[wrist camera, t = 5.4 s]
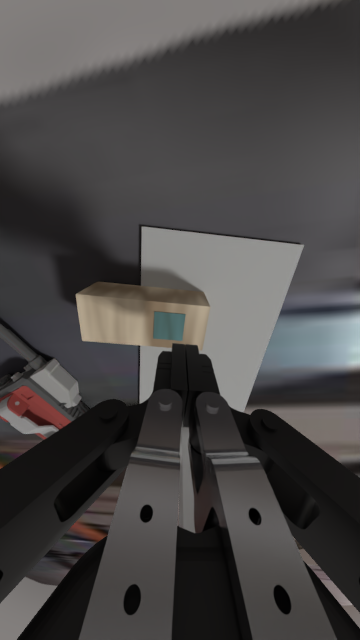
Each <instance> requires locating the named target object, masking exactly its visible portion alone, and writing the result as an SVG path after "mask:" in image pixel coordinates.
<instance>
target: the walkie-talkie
mask: <svg viewBox="0 0 360 640" xmlns="http://www.w3.org/2000/svg"><path fill="white" fill-rule="evenodd" d="M0 337H1V338H2V339H3V340H4V341H5V342H6V343H7V344H9V345H10V346H11V347H12V348H13V349H14V350H16V351H17V352H18V353H19V354H20V355H21V356H22V357H24V358H25V359H26V360H27V361H28V365H26V366H25V367H24V369H25V370H26V371H25V372H23V373H19V372H17V373H16V374H14V375H13V377H12V376H11V375H10V374H7V375H5V376H4V377H2V378H1V379H0V418H1V419H3V420H4V421H6V422H10V423H11V424H10V425H11V426H13V427H14V428H16V429H17V430H19V431H20V432H22V433H23V434H31V433H35V434H36V435H38V436H39V437H40V438H42V439H43V440H45V439H46V438H48V437H49V436H51V435H52V434H54V433H55V432H57V431H58V430H60V429H61V428H63V427H64V426H66V425H67V424H69V423H70V422H72V421H73V420H75V419H76V418H78V417H79V416H81V415H82V414H84V413H85V412H87V411H88V410H90V409H89V407H87V406H86V404H84V403H83V402H81V401H80V400H81V397H80V396H79V389H78V382H77V380H75V379H74V378H73V377H72V376H71V375H70V374H69V373H68V372H67V371H66V370H65V369H64V368H63V367H62V366H61V365H60V364H59V362H58V361H57V360H56V359H55V358H54V359H52V360H50V361H49V362H47V361H46V360H45V359H44V358H43V357H42V356H41V355H37V354H36V353H35V352H34V351H33V350H32V349H31V348H30V347H29V346H27V345H26V344H25V343H24V342H23V341H22V340H21V339H20V338H18V337H17V336H16V335H15V334H14V333H13V332H12V331H11V330H10V329H6V328H5V327H4V326H3V325H1V324H0ZM11 378H12V379H11Z"/></svg>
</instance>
